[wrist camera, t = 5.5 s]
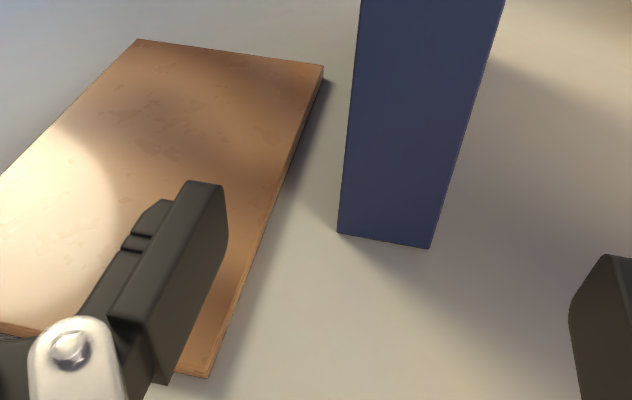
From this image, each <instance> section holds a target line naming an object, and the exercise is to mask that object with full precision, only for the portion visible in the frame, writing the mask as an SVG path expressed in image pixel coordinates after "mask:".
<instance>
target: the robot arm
mask: <svg viewBox="0 0 632 400" xmlns="http://www.w3.org/2000/svg"><path fill="white" fill-rule="evenodd" d="M228 239H229V228H228V220H227V211H226V203H225V194H224V189H223V187H222V185H218V184H212V183H206V182H201V181H195V180H187V181H186V182H185V183H184V184H183V186H182V188H181V189H180V191H179V193H178V194H177V196H176V198H175V199H174V201H173V200H167V199H162V198H161V199H160V200H159V201H157V202H156V203H155V204H153V205H152V206H151V207H149V208H148V209H147V210H145V211H144V212H143V213H142V214H141V215H140V217H139V218H138V220H137V222H136V223H135V225H134V226H133V228H132V229H131V231H130V235H129V236H128V235H127V237H126V239H125V240H124V242H123V243H122V245H121V246H120V250H119V251H117V252H116V254H115V256H114V257H113V259H112V260H111V262H110V263H109V265H108V266H107V268H106V269H105V271H104V273H103V274H102V276H101V277H100V279H99V280H98V282H97V283H96V285H95V286H94V288H93V290H92V291H91V293H90V294H89V296H88V297H87V299H86V300H85V302H84V303H83V305H82V306H81V308H80V309H79V311H78V312H77V313H76V314H75V315H74V316H73V317H69V318H65V319H63V320H60V321H58V322H56V323H54V324H52V325H51V326H50V327H48V328H47V329H45V330H44V331H43V332H42V333H41V334H40V335H38V336H33V337H26V338H16V339H6V340H0V400H143V398H144V396H145V394H146V391H147V389H148V387H149V385H150V383H151V382H152V383H156V384H161V385H165V386H168V383H169V381H170V379H171V377H172V374H173V372H174V370H175V367H176V365H177V363H178V361H179V358H180V356H181V354H182V352H183V349H184V347H185V345H186V343H187V340H188V338H189V336H190V333H191V331H192V329H193V327H194V324H195V322H196V320H197V318H198V315H199V313H200V311H201V309H202V306H203V304H204V302H205V299H206V297H207V295H208V293H209V290H210V288H211V286H212V284H213V281H214V279H215V277H216V275H217V272H218V270H219V268H220V266H221V263H222V261H223V259H224V256H225V253H226V250H227V245H228ZM568 324H569V331H570V336H571V342H572V348H573V353H574V359H575V365H576V370H577V376H578V382H579V388H580V393H581V399H582V400H632V258H626V257H620V256H614V255H609V254H604V255H603V256H601V257H600V258H599V260H598V261H597V262H596V264H595V265H594V267H593V268H592V270H591V271H590V273H589V274H588V276H587V277H586V279H585V280H584V282H583V283H582V285H581V286H580V288H579V289H578V291H577V292H576V294H575V295H574V297H573V299H572V301H571V304H570V308H569V315H568Z"/></svg>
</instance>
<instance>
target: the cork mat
mask: <svg viewBox="0 0 632 400" xmlns="http://www.w3.org/2000/svg"><path fill="white" fill-rule="evenodd" d="M323 73H324V66H323V65H318V64H311V63H304V62H297V61H290V60H283V59H276V58H269V57H262V56H255V55H248V54H241V53H234V52H228V51H221V50H214V49H207V48H200V47H193V46H186V45H179V44H172V43H165V42H158V41H151V40H144V39H137V40H136V41H135V42H134V43H133V44H132V45H131V46H130V47H129V48H128V49H127V50H126V51H125V52H124V53H123V54H122V55H121V56H120V57H119V58H118V59H117V60H116V61H115V62H114V63H113V64H112V65H111V66H110V67H109V68H108V69H107V70H106V71H105V72H104V73H103V74H102V75H101V76H100V77H99V78H98V79H97V80H96V81H95V82H94V83H93V84H92V85H91V86H90V87H89V88H88V89H87V90H86V91H85V92H84V93H83V94H82V95H81V96H80V97H79V98H78V99H77V100H76V101H75V102H74V103H73V104H72V105H71V106H70V107H69V108H68V109H67V110H66V111H65V112H64V113H63V114H62V115H61V116H60V117H59V118H58V119H57V120H56V121H55V122H54V123H53V124H52V125H51V126H50V127H49V128H48V129H47V130H46V131H45V132H44V133H43V134H42V135H41V136H40V137H39V138H38V139H37V140H36V141H35V142H34V143H33V144H32V145H31V146H30V147H29V148H28V149H27V150H26V151H25V152H24V153H23V154H22V155H21V156H20V157H19V158H18V159H17V160H16V161H15V162H14V163H13V164H12V165H11V166H10V167H9V168H8V169H7V170H6V171H5V172H4V173H3V174H2V175H1V176H0V333H4V334H8V335H13V336H17V337H22V338H26V337H33V336H38V335H40V334H41V333H42V332H43V331H44V330H45V329H47V328H48V327H50V326H51V325H52V324H54V323H56V322H58V321H60V320H63V319H65V318H69V317H73V316H74V315H75V314H76V313H77V312H78V311H79V309H80V308H81V306H82V305H83V303H84V302H85V300H86V299H87V297H88V296H89V294H90V293H91V291H92V290H93V288H94V286H95V285H96V283H97V282H98V280H99V279H100V277H101V276H102V274H103V273H104V271H105V269H106V268H107V266H108V265H109V263H110V262H111V260H112V259H113V257H114V256H115V254H116V252H117V251H119V250H120V246H121V245H122V243H123V242H124V240H125V239H126V237H127V235H128V236H129V235H130V231H131V229H132V228H133V226H134V225H135V223H136V222H137V220H138V218H139V217H140V215H141V214H142V213H143V212H144V211H145V210H147V209H148V208H149V207H151V206H152V205H153V204H155V203H156V202H157V201H159V200H160V199H161V198H162V199H167V200H173V201H174V199H175V198H176V196H177V194H178V193H179V191H180V189H181V188H182V186H183V184H184V183H185V182H186V181H187V180H195V181H201V182H206V183H212V184H218V185H222V187H223V189H224V194H225V203H226V211H227V220H228V228H229V239H228V245H227V250H226V253H225V256H224V259H223V261H222V263H221V266H220V268H219V270H218V272H217V275H216V277H215V279H214V281H213V284H212V286H211V288H210V290H209V293H208V295H207V297H206V299H205V302H204V304H203V306H202V309H201V311H200V313H199V315H198V318H197V320H196V322H195V324H194V327H193V329H192V331H191V333H190V336H189V338H188V340H187V343H186V345H185V347H184V349H183V352H182V354H181V356H180V358H179V361H178V363H177V365H176V367H175V370H174V372H178V373H183V374H187V375H192V376H196V377H201V378H205V379H207V378H208V377H209V374H210V372H211V369H212V367H213V364H214V361H215V359H216V356H217V353H218V351H219V348H220V346H221V343H222V340H223V338H224V335H225V332H226V330H227V327H228V325H229V322H230V319H231V317H232V314H233V312H234V309H235V306H236V304H237V301H238V298H239V296H240V293H241V291H242V288H243V285H244V283H245V280H246V277H247V275H248V272H249V270H250V267H251V264H252V262H253V259H254V256H255V254H256V251H257V249H258V246H259V243H260V241H261V238H262V236H263V233H264V230H265V228H266V225H267V222H268V220H269V217H270V215H271V212H272V209H273V207H274V204H275V201H276V199H277V196H278V194H279V191H280V188H281V186H282V183H283V181H284V178H285V175H286V173H287V170H288V167H289V165H290V162H291V160H292V157H293V154H294V152H295V149H296V146H297V144H298V141H299V139H300V136H301V133H302V131H303V128H304V125H305V123H306V120H307V118H308V115H309V112H310V110H311V107H312V105H313V102H314V99H315V97H316V94H317V91H318V89H319V86H320V84H321V81H322V78H323Z"/></svg>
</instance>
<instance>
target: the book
mask: <svg viewBox="0 0 632 400" xmlns="http://www.w3.org/2000/svg"><path fill="white" fill-rule="evenodd" d="M505 1H506V0H361V5H360V14H359V23H358V33H357V42H356V52H355V61H354V70H353V80H352V89H351V99H350V108H349V117H348V127H347V136H346V146H345V155H344V164H343V174H342V183H341V193H340V202H339V212H338V221H337V230H336V231H337V233H342V234H347V235H353V236H358V237H364V238H369V239H375V240H380V241H386V242H391V243H397V244H402V245H407V246H413V247H418V248H424V249H429V248H430V245H431V241H432V238H433V235H434V232H435V228H436V225H437V222H438V219H439V216H440V212H441V209H442V206H443V203H444V199H445V196H446V193H447V190H448V186H449V183H450V180H451V177H452V173H453V170H454V167H455V164H456V160H457V157H458V154H459V151H460V147H461V144H462V141H463V138H464V134H465V131H466V128H467V125H468V121H469V118H470V115H471V112H472V108H473V105H474V102H475V99H476V96H477V92H478V89H479V86H480V83H481V79H482V76H483V73H484V70H485V66H486V63H487V60H488V57H489V53H490V50H491V47H492V44H493V40H494V37H495V34H496V31H497V27H498V24H499V21H500V18H501V14H502V11H503V8H504V5H505Z"/></svg>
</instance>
